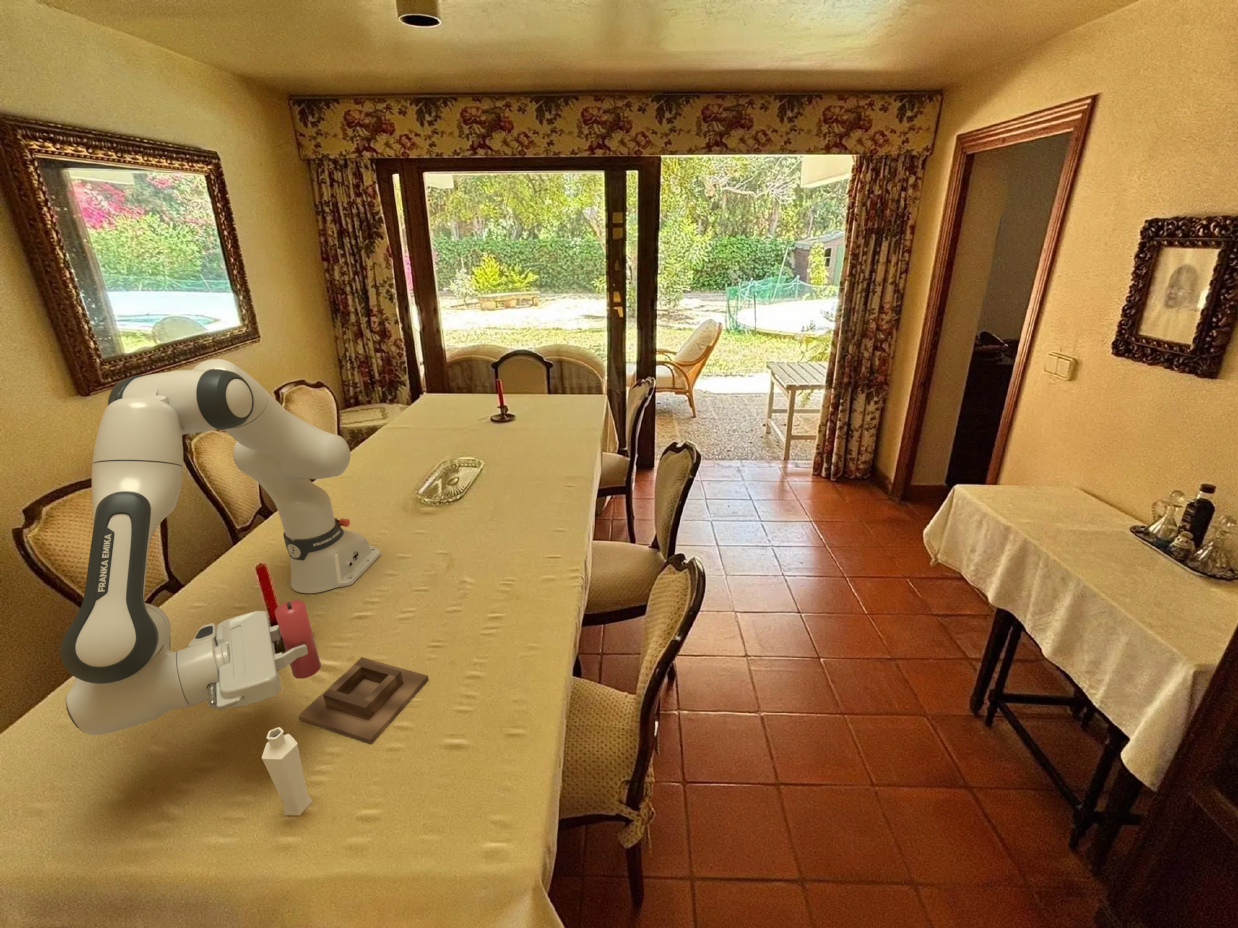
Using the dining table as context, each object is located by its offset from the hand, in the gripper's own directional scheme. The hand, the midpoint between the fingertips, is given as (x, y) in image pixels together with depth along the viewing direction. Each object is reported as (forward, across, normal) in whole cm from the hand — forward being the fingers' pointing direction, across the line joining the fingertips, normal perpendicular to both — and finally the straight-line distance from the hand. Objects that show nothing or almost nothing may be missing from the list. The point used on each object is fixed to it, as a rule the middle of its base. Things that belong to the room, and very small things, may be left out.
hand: (304, 637), depth 98 cm
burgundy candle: (-1, 0, +6) cm, 7 cm away
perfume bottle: (-7, -17, +18) cm, 25 cm away
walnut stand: (+7, 0, +18) cm, 19 cm away
